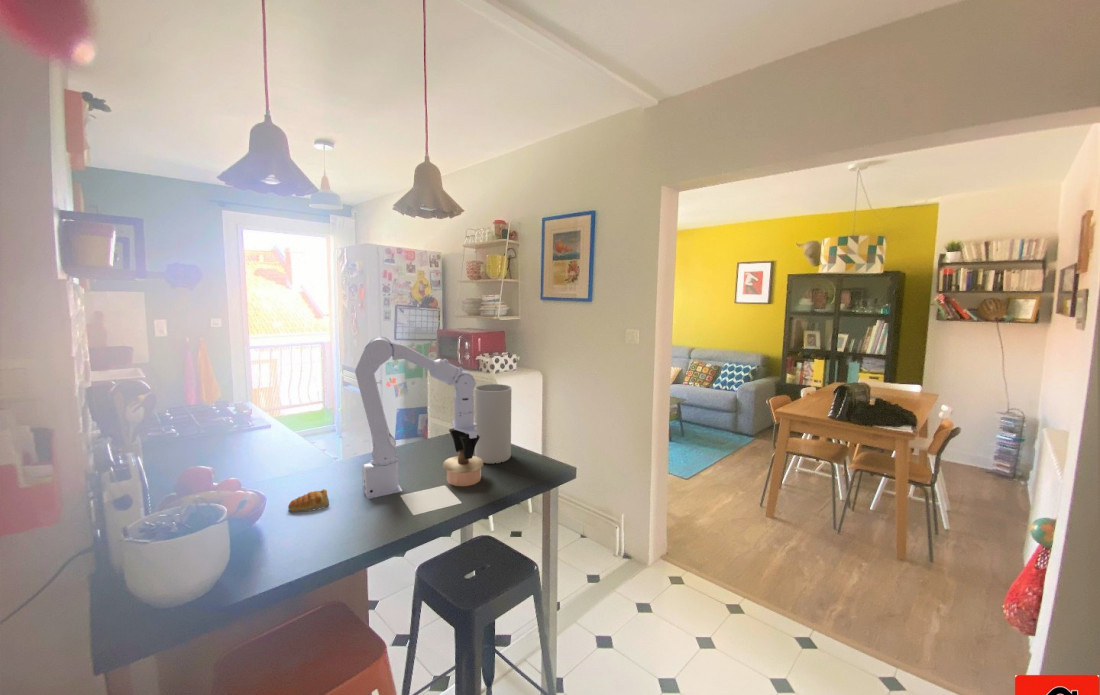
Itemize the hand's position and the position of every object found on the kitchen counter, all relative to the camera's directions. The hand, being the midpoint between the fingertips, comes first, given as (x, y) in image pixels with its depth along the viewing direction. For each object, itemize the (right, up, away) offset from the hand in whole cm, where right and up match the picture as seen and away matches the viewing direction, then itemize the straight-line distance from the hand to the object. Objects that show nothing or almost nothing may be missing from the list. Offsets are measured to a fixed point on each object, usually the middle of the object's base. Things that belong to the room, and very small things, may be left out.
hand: (464, 454), depth 132 cm
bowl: (0, -8, +1) cm, 8 cm away
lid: (0, -3, 0) cm, 3 cm away
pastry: (-37, -10, -17) cm, 42 cm away
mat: (-7, -10, -13) cm, 17 cm away
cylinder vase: (+6, -6, +21) cm, 22 cm away
